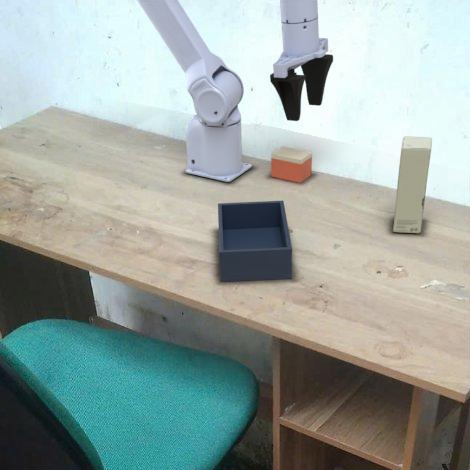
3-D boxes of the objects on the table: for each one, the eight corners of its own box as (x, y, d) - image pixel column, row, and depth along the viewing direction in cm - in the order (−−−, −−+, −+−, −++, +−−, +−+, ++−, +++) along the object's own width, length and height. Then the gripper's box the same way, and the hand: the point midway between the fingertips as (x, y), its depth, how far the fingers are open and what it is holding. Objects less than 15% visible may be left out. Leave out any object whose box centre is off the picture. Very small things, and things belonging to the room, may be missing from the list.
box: (420, 234, 123) (432, 149, 114) (391, 233, 124) (401, 148, 115) (421, 220, 127) (433, 135, 118) (393, 218, 127) (403, 134, 118)
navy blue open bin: (219, 231, 126) (217, 203, 123) (283, 228, 126) (283, 200, 123) (220, 282, 115) (219, 251, 111) (291, 278, 115) (291, 248, 111)
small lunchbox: (270, 176, 141) (270, 153, 138) (282, 168, 143) (282, 146, 141) (300, 183, 139) (301, 159, 136) (311, 175, 141) (312, 151, 138)
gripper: (299, 32, 117) (304, 129, 127) (344, 7, 126) (345, 99, 135) (258, 31, 121) (266, 125, 130) (304, 6, 129) (309, 97, 138)
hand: (304, 112), depth 133 cm, fingers open, 7 cm apart
